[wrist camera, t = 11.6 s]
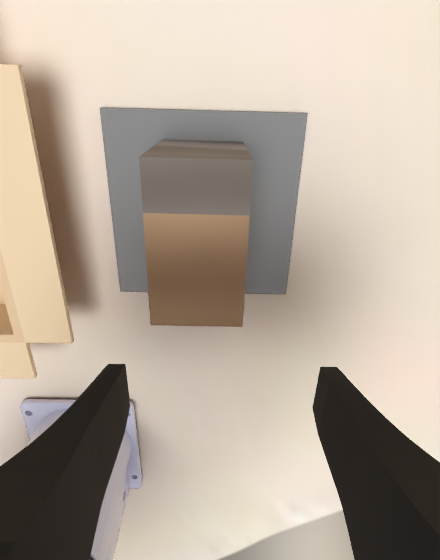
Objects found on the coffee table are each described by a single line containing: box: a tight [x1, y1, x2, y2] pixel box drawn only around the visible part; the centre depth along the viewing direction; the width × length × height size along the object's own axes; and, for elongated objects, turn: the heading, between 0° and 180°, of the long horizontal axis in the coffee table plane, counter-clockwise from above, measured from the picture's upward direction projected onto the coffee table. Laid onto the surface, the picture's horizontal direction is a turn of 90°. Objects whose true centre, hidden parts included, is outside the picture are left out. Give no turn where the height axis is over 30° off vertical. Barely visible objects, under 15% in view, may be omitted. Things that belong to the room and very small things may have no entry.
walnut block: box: [139, 139, 254, 327], centre depth 17 cm, size 7×4×6 cm, turn 178°
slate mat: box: [100, 108, 308, 294], centre depth 20 cm, size 10×10×1 cm
